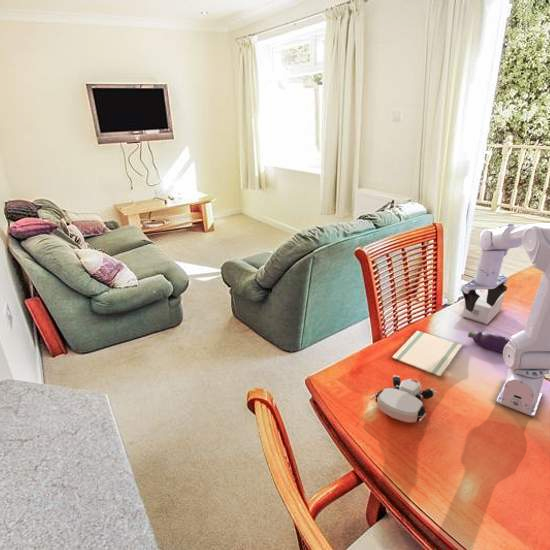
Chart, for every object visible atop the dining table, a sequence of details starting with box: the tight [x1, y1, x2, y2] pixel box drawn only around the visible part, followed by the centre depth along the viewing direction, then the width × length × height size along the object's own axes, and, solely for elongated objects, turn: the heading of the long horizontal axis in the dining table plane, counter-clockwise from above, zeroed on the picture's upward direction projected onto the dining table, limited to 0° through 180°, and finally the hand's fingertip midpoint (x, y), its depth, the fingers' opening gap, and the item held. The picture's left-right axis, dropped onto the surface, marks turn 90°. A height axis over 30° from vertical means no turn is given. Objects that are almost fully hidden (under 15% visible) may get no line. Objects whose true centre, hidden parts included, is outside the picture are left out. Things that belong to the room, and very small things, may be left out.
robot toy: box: [369, 374, 437, 424], centre depth 92 cm, size 12×4×15 cm
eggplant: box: [467, 330, 510, 354], centre depth 112 cm, size 12×5×5 cm, turn 48°
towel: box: [391, 330, 463, 378], centre depth 112 cm, size 18×14×1 cm
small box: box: [462, 289, 505, 325], centre depth 129 cm, size 8×6×13 cm
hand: (479, 307), depth 115 cm, fingers open, 7 cm apart
